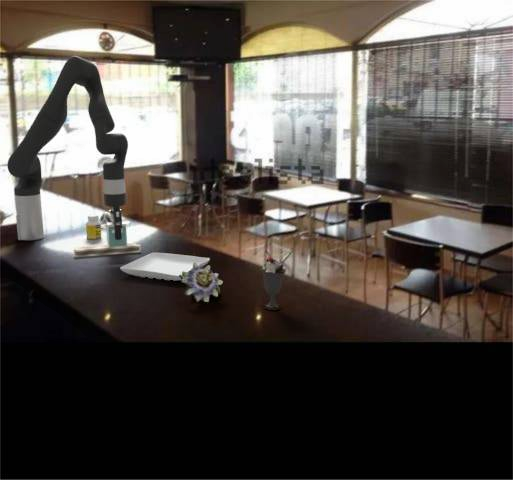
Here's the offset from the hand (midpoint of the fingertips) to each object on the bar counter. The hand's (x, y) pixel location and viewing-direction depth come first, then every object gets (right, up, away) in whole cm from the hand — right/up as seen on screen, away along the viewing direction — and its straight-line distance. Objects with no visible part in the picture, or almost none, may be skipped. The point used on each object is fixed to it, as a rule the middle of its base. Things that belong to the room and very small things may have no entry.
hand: (117, 237), depth 202 cm
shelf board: (-3, -5, -1) cm, 7 cm away
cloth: (-16, +5, +47) cm, 50 cm away
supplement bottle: (-13, -2, +17) cm, 21 cm away
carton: (0, -4, +1) cm, 4 cm away
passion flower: (+34, -17, -48) cm, 61 cm away
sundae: (+54, -19, -55) cm, 79 cm away
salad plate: (+21, -11, -23) cm, 34 cm away
